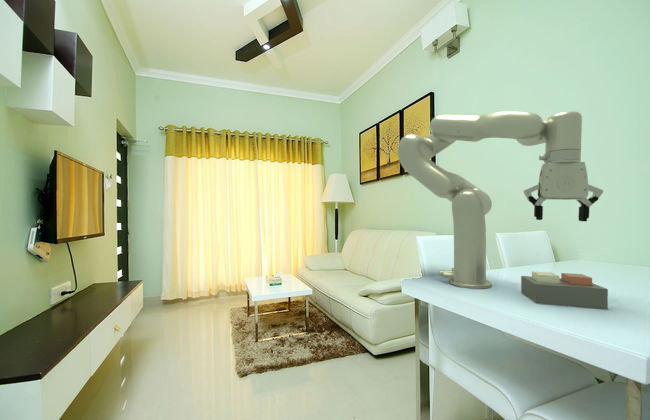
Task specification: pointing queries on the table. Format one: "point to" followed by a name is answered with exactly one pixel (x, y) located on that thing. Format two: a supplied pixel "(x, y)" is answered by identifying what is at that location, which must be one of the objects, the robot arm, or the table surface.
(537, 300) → the key panel
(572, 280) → the red key
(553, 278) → the cream key
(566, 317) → the table surface
